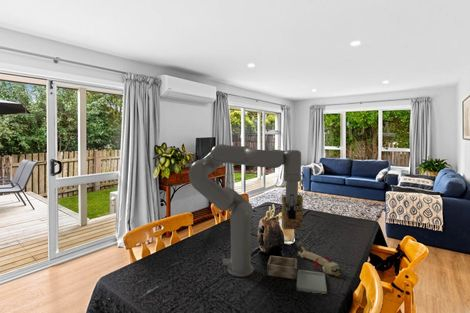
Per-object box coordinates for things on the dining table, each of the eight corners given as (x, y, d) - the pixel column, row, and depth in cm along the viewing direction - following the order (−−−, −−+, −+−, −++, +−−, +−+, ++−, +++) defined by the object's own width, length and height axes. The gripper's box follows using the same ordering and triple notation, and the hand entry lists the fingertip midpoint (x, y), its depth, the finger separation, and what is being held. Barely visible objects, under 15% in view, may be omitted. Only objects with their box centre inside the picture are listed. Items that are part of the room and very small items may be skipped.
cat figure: (294, 260, 140) (331, 279, 118) (293, 243, 140) (331, 259, 118) (308, 256, 145) (346, 273, 122) (307, 240, 144) (346, 255, 122)
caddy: (267, 275, 122) (267, 264, 121) (269, 265, 131) (270, 255, 131) (296, 279, 118) (296, 268, 118) (296, 268, 128) (297, 258, 127)
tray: (296, 290, 110) (296, 286, 110) (297, 272, 124) (297, 269, 124) (326, 295, 107) (326, 291, 107) (324, 276, 121) (324, 273, 121)
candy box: (283, 230, 118) (283, 196, 117) (281, 226, 123) (281, 194, 121) (302, 229, 119) (303, 196, 117) (300, 226, 123) (300, 194, 121)
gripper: (284, 174, 128) (284, 211, 129) (282, 180, 111) (282, 222, 113) (300, 174, 126) (300, 212, 127) (301, 181, 109) (300, 223, 111)
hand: (292, 216), depth 120 cm, fingers closed on candy box, 5 cm apart
